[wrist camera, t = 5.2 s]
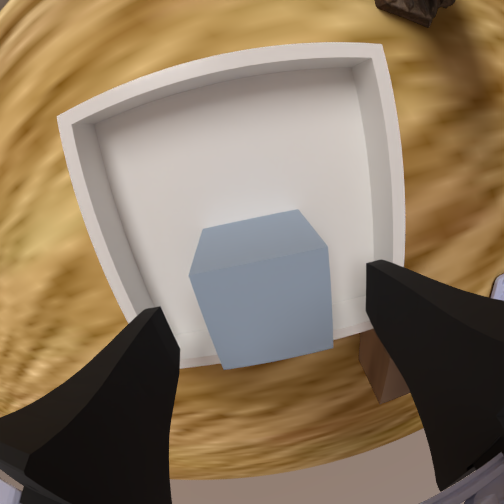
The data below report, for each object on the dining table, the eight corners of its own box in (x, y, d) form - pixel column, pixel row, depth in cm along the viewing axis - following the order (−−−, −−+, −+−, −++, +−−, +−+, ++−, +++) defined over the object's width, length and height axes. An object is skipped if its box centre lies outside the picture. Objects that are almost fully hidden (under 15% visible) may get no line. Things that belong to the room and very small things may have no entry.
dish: (355, 58, 9) (381, 44, 7) (377, 293, 14) (398, 320, 12) (87, 117, 10) (56, 116, 7) (164, 338, 14) (155, 370, 12)
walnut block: (418, 293, 15) (453, 333, 11) (409, 341, 16) (436, 380, 12) (361, 311, 15) (390, 359, 11) (358, 358, 16) (379, 404, 13)
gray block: (308, 290, 13) (333, 347, 9) (225, 307, 13) (223, 369, 9) (298, 209, 11) (327, 246, 8) (202, 228, 11) (188, 275, 8)
